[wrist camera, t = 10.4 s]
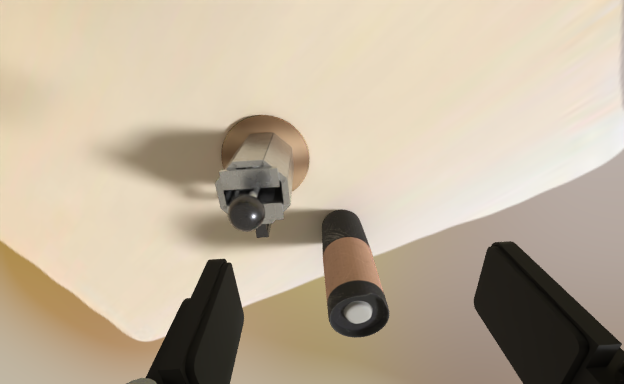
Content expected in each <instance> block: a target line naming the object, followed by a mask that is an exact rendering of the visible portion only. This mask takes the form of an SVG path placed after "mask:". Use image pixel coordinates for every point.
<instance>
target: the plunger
mask: <svg viewBox="0 0 624 384" xmlns="http://www.w3.org/2000/svg"><path fill="white" fill-rule="evenodd" d="M261 167H262V166H261ZM245 168H258V167H245ZM259 189H260V188H252V189H251V191H250V193H249V195H242V196H239V197H237V198H236V199H234V200H233V201H232V203H231V204H230V206H229V209H228V218H229V221H230V223H231V224H232V226H233V227H235V228H236V229H238V230H240V231H245V232H248V231H253V230H255V229H257V228H258V227H259V226H260V225H261V224H262V223H263V221H264V218H265V208H264V205H263V203H262V202H261V201H260V200H259V199H258V198H257V195H258V192H259Z"/></svg>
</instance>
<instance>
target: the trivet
mask: <svg viewBox="0 0 624 384" xmlns="http://www.w3.org/2000/svg"><path fill="white" fill-rule="evenodd" d="M272 132H273V133H275V134H276V135H277V136H279V137H280V138H281V139H282V140H284V141H285V142H286V143H287V144H288V145H290V146H291V147H292V153H293V163H294V173H293V183H292V191H294V190H295V189H296V188H297V187H298V186H299V185H300V184H301V183H302V182H303V180H304V178H305V176H306V174H307V171H308V168H309V151H308V147H307V144H306V142H305V140H304V138H303V137H302V135H301V134H300V132H299V131H298V130H297V129H296V128H295V127H294V126H292V125H291V124H290V123H288V122H286V121H285V120H283V119H280V118H278V117H274V116H268V115H258V116H252V117H249V118H246V119H244V120H242V121H240V122H239V123H237V124H236V125H235V126H234V127H233V128H232V129H231V130H230V131H229V133H228V134H227V136H226V138H225V140H224V142H223V146H222V163H223V167H224V169H225V167H226V166H227V164H228V163H229V161H230V160H231V158H232V157H233V155H234V154H235V152H236V151H237V150H238V148H239V147H240V146H241V145H242V143H243V142H244V141H245V140H246V138H247V137H248V136H249V135H250V134H257V133H272Z"/></svg>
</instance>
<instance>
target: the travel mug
mask: <svg viewBox="0 0 624 384" xmlns="http://www.w3.org/2000/svg"><path fill="white" fill-rule="evenodd" d="M322 243H323V264H324V274H325V285H326V295H327V306H328V316H329V322H330V324H331V326H332V327H333V329H334V330H335V331H336V332H338V333H340V334H342V335H344V336H348V337H365V336H369V335H372V334H374V333H376V332H378V331H379V330H380V329H382V328H383V327H384V326H385V325H386V323H387V321H388V318H389V309H388V305H387V302H386V299H385V295H384V292H383V289H382V285H381V282H380V279H379V275H378V272H377V269H376V265H375V263H374V259H373V255H372V252H371V249H370V246H369V244H368V241H367V238H366V236H365V233H364V230H363V227H362V225H361V222H360V220H359V218H358V217H357V216H356V215H355V214H354V213H352V212H350V211H347V210H338V211H334V212H332V213H330V214H329V215H328V216H327V217H326V218H325V219H324V221H323V224H322Z"/></svg>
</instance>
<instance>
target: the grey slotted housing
mask: <svg viewBox="0 0 624 384" xmlns="http://www.w3.org/2000/svg"><path fill="white" fill-rule="evenodd" d="M261 166H262V167H261ZM245 167H258V168H245ZM293 173H294V163H293V153H292V147H291V146H290V145H288V144H287V143H286V142H285V141H284V140H282V139H281V138H280V137H279V136H277V135H276V134H275V133H273V132H272V133H257V134H250V135H249V136H248V137H247V138H246V140H245V141H244V142H243V143H242V145H241V146H240V147H239V148H238V150H237V151H236V152H235V154H234V155H233V157H232V158H231V160H230V161H229V163H228V164H227V166H226V167H225V169H224V170H220V171H219V174H220V176H219V178H218V179H217V181H216V182H215V186H216V190H217V194H218V198H219V203H220V207H221V209H222V210H223V211H224V212H226V213H227V214H228V209H229V206H230V204H231V203H232V201H233V200H234V199H236V198H237V197H239V196H242V195H249V193H250V191H251V189H252V188H260V189H259V192H258V195H257V198H258V199H259V200H260V201H261V202H262V203H263V205H264V208H265V218H264V221H263V223H262V224H261V225H260V226H259V227H258V228H257V229H256V235H257V238H260V237H269V232H270V227H271V224H272V223H274V222H275V220H280V219H284V213H283V212H284V211H285V210H286V209H287V208H288V207H289V206H290V204H291V194H292V183H293Z"/></svg>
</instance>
